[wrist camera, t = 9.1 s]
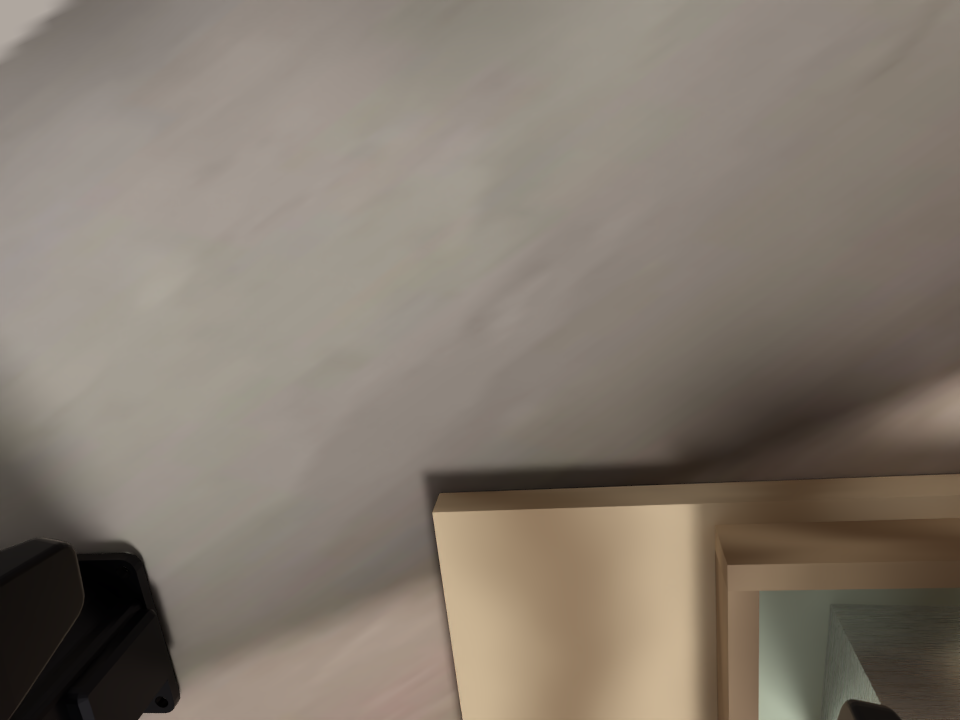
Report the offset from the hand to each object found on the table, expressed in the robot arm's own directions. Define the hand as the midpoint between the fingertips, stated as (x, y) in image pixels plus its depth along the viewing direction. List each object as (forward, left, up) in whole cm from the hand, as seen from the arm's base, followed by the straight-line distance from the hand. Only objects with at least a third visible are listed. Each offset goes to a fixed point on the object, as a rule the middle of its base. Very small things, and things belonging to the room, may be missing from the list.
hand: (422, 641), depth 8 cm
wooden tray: (+7, -11, -14) cm, 19 cm away
